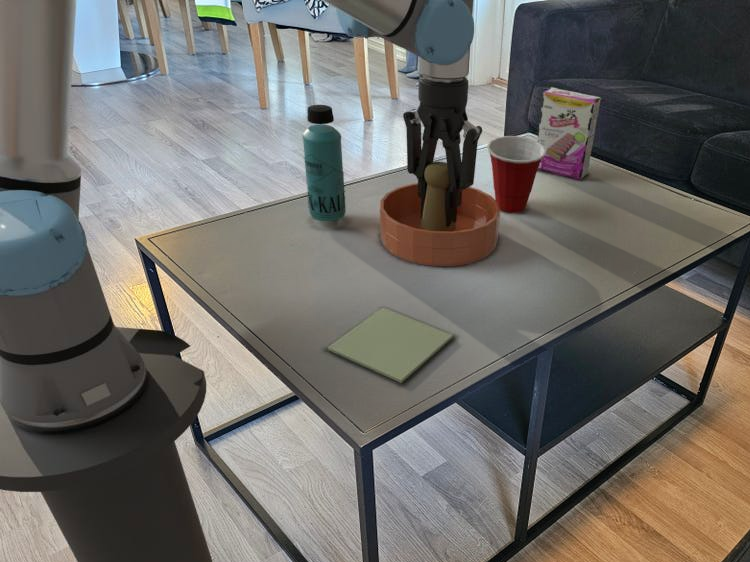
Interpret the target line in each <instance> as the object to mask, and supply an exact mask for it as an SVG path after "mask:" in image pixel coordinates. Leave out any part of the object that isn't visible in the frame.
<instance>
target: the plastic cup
mask: <svg viewBox="0 0 750 562" xmlns="http://www.w3.org/2000/svg"><path fill="white" fill-rule="evenodd" d="M486 147H487V148H486V149H487V151H488V153H489V157H490V163H491V169H492V170H491V171H492V179H493V180H492V183H493V190H494V199H495V200H496V201H497V202H498V204H499V208H500V212H504V213H509V214H517V213H518V214H519V213H522V212H524V211H525V210H526V208H527V205H528V202H529V198H530V195H531V193H532V189H533V188H534V187H533V186H534V182H535V179H536V177H537V172H538V170H537V169H538V167H539V164H540V162H541V159H542V158H543V157H544V155H545V153H546V149H545V147H544V145H542V144H541V143H539V142H538V141H537V140H535V139H533V138H530V137H526V136H519V135H503V136H499V137H495V138H493V139H491V140H490V141H489V142H488V144H487V145H486Z"/></svg>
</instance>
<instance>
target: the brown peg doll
mask: <svg viewBox="0 0 750 562" xmlns="http://www.w3.org/2000/svg"><path fill="white" fill-rule="evenodd" d="M424 177H425V180H426V182H427V184H428V185H427V191H426V197H425V203H424V209H423V216H422V222H421V228H422V229H423V230H429V231H451V232H453V231H454V230H455V228H456V224H455V223H454V222H453V221H452V223H451V225H450V226H449V227H446V214H445V193H446V189H447V188H449V187H450V183H449V175H448V168H447V161H433V163H430V164H428V165H427V167H426V169H425V173H424Z"/></svg>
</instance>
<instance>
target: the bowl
mask: <svg viewBox="0 0 750 562" xmlns="http://www.w3.org/2000/svg"><path fill="white" fill-rule="evenodd" d="M461 201H462V202H461V205H460V206H459V207H458V208H457V219H456V222H455V224H456V228H455V230H454V231H453V232H451V231H429V230H423V229H422V228H421V222H422V218H421V198H420V197H419V196H418V182H415V183H409V184H406V185H402V186H398V187H396V188H394V189H393V190H391V191H388V192H387V193H385V195H384V196H383V197H382V198H381V199H380V201H379V222H380V240H381V243H382V245H383V247H384V248H385V249H386V250H387V251H388V252H389V253H391V254H392V255H393V256H395V257H398V258H399V259H401V260H404V261H406V262H409V263H414V264H416V265H417V264H418V265H425V266H430V267H456V266H463V265H469V264H472V263H475V262H478V261H481V260H482V259H485V258H487V257H488V256H490V254H491V253H493V251H495V249H496V248H497V244H498V241H499V232H500V231H499V230H500V221H501V220H500V219H501V210H500V208H499V204H498V202H497V201H496V200H495V197H493V196H491V195H490V194H488V193H487V192H485V191H482V190H481V189H479V188H475V187H472V186H470V187H468V188H466V189H465V190H462V200H461Z"/></svg>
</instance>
